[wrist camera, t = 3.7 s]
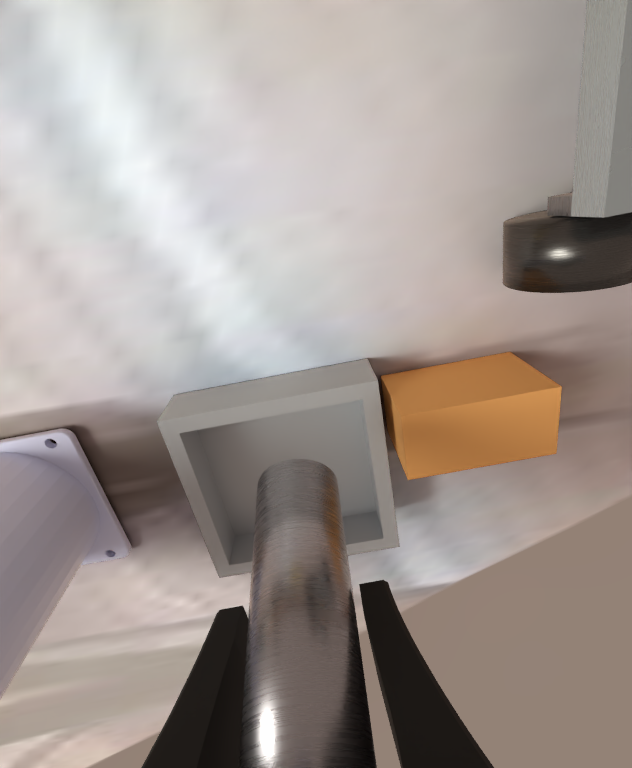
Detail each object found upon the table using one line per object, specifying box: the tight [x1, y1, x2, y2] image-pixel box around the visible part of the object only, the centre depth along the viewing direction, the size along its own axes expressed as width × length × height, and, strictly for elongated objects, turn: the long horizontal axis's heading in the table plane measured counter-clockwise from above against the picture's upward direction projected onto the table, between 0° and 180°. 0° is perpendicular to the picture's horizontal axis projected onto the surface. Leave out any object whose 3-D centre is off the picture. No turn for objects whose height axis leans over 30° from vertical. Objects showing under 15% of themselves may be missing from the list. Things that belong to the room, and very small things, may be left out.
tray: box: [157, 359, 400, 578], centre depth 19 cm, size 9×9×2 cm
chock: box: [381, 352, 562, 480], centre depth 17 cm, size 6×3×4 cm, turn 101°
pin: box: [239, 459, 377, 768], centre depth 9 cm, size 3×3×8 cm
